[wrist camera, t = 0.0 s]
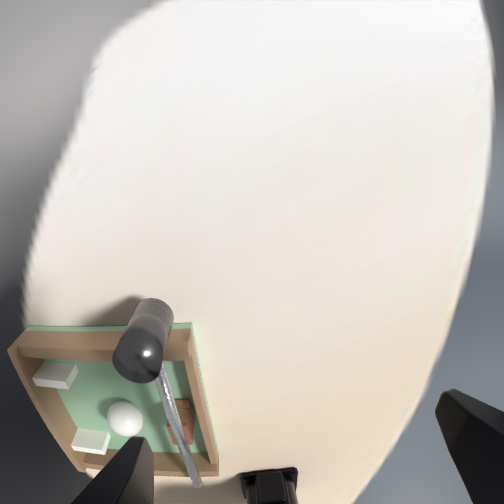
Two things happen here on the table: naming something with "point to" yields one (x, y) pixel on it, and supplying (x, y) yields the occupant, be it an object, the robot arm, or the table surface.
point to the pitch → (111, 395)
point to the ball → (125, 418)
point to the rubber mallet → (156, 371)
